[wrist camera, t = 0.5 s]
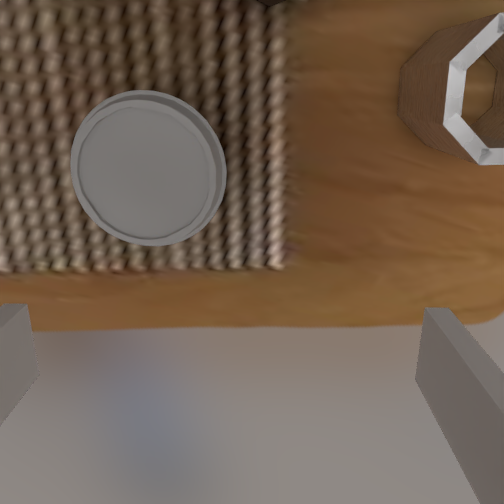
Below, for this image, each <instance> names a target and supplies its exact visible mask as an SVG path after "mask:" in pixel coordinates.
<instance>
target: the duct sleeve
mask: <svg viewBox="0 0 504 504" xmlns="http://www.w3.org/2000/svg"><path fill="white" fill-rule="evenodd" d="M482 54H484V56H485V57H486V58H487V59H488V60H489V62H490V63H491V64H492V65H493V66H494V68H495V69H496V70H497V74H496V81H495V88H494V95H493V103H492V107H491V108H490V109H489V110H488V111H486V112H485V113H484V114H483V115H482V116H481V117H480V118H479V119H478V120H477V121H476V122H475V123H474V124H472V125H471V126H470V127H469V126H468V125H467V124H466V122H465V121H464V120H463V119H462V118H461V112H462V103H463V95H464V86H465V78H466V69H467V68H468V67H469V66H470V65H472V64H473V63H474V62H475V61H476V60H477V59H478V58H479V57H480V56H481V55H482ZM397 115H398V116H399V117H400V118H401V119H402V120H403V121H404V122H405V123H406V124H407V126H408V127H409V128H410V129H411V130H412V131H413V132H414V133H415V134H416V135H417V136H418V137H419V139H420V140H421V141H422V142H423V143H424V144H425V145H427V146H429V147H432V148H435V149H437V150H440V151H443V152H445V153H448V154H451V155H453V156H456V157H459V158H461V159H464V160H467V161H469V162H472V163H475V164H477V165H504V13H497V14H494V15H490V16H487V17H484V18H480V19H477V20H474V21H470V22H467V23H463V24H460V25H457V26H453V27H450V28H447V29H443V30H440V31H437V32H435V33H434V34H433V35H432V36H431V37H430V39H429V40H428V41H427V42H426V43H425V44H424V45H423V46H422V47H421V48H420V49H419V50H418V51H417V52H416V53H415V54H414V55H413V56H412V57H411V58H410V59H409V60H408V61H407V62H406V63H405V64H404V65H403V66H402V67H401V71H400V85H399V99H398V112H397Z"/></svg>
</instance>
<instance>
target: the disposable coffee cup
mask: <svg viewBox="0 0 504 504" xmlns="http://www.w3.org/2000/svg"><path fill="white" fill-rule="evenodd" d="M70 164H71V176H72V182H73V187H74V190H75V192H76V195H77V197H78V200H79V202H80V203H81V205H82V207H83V209H84V210H85V211H86V213H87V214H88V215H89V217H90V218H91V219H92V220H93V221H94V222H95V223H96V224H97V225H98V226H99V227H101V228H102V229H103V230H105V231H106V232H108V233H109V234H111V235H112V236H114V237H117V238H119V239H121V240H124V241H127V242H130V243H133V244H139V245H144V246H164V245H170V244H175V243H178V242H181V241H184V240H186V239H187V238H189V237H191V236H193V235H195V234H196V233H197V232H199V231H200V230H201V229H202V228H204V227H205V226H206V225H207V223H208V222H209V221H210V220H211V219H212V218H213V216H214V215H215V213H216V211H217V209H218V207H219V205H220V203H221V201H222V199H223V195H224V191H225V186H226V176H227V170H226V162H225V157H224V152H223V149H222V147H221V144H220V142H219V139H218V137H217V135H216V133H215V132H214V131H213V129H212V128H211V126H210V125H209V123H208V122H207V120H206V119H205V118H204V117H203V116H202V115H201V114H200V113H199V112H198V111H196V110H195V109H194V108H193V107H192V106H190V105H189V104H188V103H186V102H184V101H182V100H180V99H178V98H176V97H174V96H171V95H169V94H165V93H161V92H157V91H148V90H135V91H128V92H124V93H120V94H117V95H115V96H112V97H110V98H108V99H106V100H104V101H103V102H102V103H100V104H99V105H98V106H96V107H95V108H94V109H93V110H92V111H91V112H90V113H89V114H88V115H87V116H86V117H85V119H84V120H83V121H82V123H81V125H80V127H79V129H78V131H77V133H76V135H75V138H74V142H73V145H72V149H71V163H70Z"/></svg>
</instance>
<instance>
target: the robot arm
mask: <svg viewBox="0 0 504 504" xmlns="http://www.w3.org/2000/svg"><path fill="white" fill-rule="evenodd" d="M39 375H40V374H39V369H38V363H37V357H36V351H35V346H34V340H33V334H32V329H31V323H30V317H29V312H28V306H27V304H3V305H2V306H1V307H0V426H1V424H2V423H3V422H4V420H5V419H6V418H7V417H8V415H9V414H10V413H11V411H12V410H13V409H14V408H15V406H16V405H17V404H18V402H19V401H20V400H21V398H22V397H23V396H24V395H25V393H26V392H27V391H28V389H29V388H30V387H31V385H32V384H33V383H34V381H35V380H36V379H37V377H38V376H39ZM415 380H416V382H417V384H418V386H419V388H420V390H421V391H422V394H423V395H424V397H425V399H426V401H427V403H428V405H429V407H430V409H431V411H432V413H433V415H434V416H435V418H436V420H437V422H438V424H439V426H440V428H441V430H442V432H443V434H444V436H445V438H446V439H447V441H448V443H449V445H450V447H451V449H452V451H453V453H454V455H455V457H456V458H457V460H458V462H459V464H460V466H461V468H462V470H463V472H464V474H465V476H466V478H467V480H468V481H469V483H470V485H471V487H472V489H473V491H474V493H475V495H476V496H477V499H478V500H479V502H480V504H504V373H503V372H502V371H501V369H500V368H499V367H498V366H497V365H496V363H495V362H494V361H493V360H492V359H491V358H490V356H489V355H488V354H487V353H486V352H485V350H484V349H483V348H482V347H481V346H480V345H479V343H478V342H477V341H476V340H475V339H474V338H473V336H472V335H471V334H470V333H469V331H468V330H467V329H466V328H465V327H464V326H463V324H462V323H461V322H460V321H459V320H458V318H457V317H456V316H455V315H454V314H453V313H452V311H451V310H450V309H449V308H425V311H424V319H423V326H422V333H421V341H420V349H419V355H418V362H417V369H416V377H415Z"/></svg>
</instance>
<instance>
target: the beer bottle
mask: <svg viewBox="0 0 504 504" xmlns="http://www.w3.org/2000/svg"><path fill="white" fill-rule="evenodd" d="M257 1H259V2H261V3H263V4H265V5H267V6H269V7H270V6H273V5H275V4H278V3H280V2H283V1H285V0H257Z"/></svg>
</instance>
